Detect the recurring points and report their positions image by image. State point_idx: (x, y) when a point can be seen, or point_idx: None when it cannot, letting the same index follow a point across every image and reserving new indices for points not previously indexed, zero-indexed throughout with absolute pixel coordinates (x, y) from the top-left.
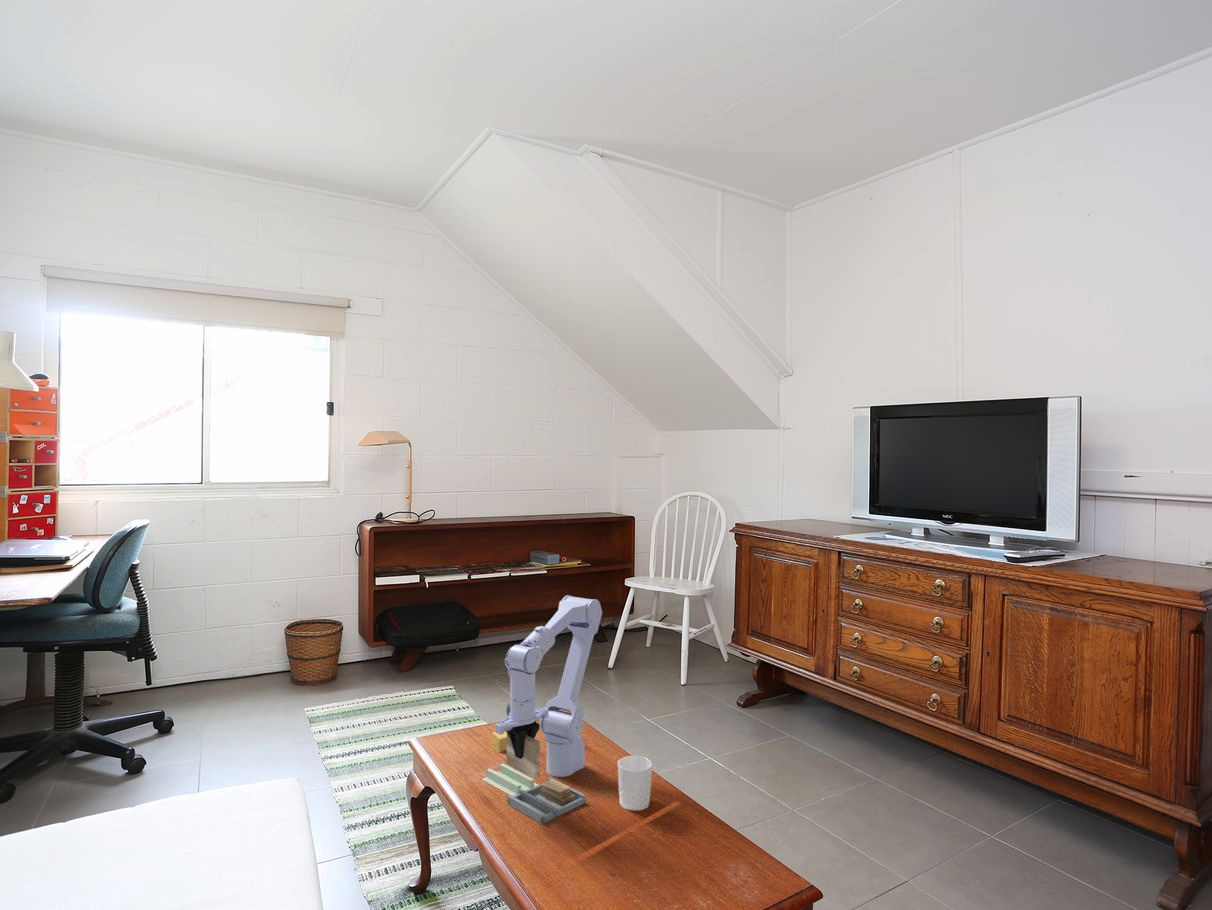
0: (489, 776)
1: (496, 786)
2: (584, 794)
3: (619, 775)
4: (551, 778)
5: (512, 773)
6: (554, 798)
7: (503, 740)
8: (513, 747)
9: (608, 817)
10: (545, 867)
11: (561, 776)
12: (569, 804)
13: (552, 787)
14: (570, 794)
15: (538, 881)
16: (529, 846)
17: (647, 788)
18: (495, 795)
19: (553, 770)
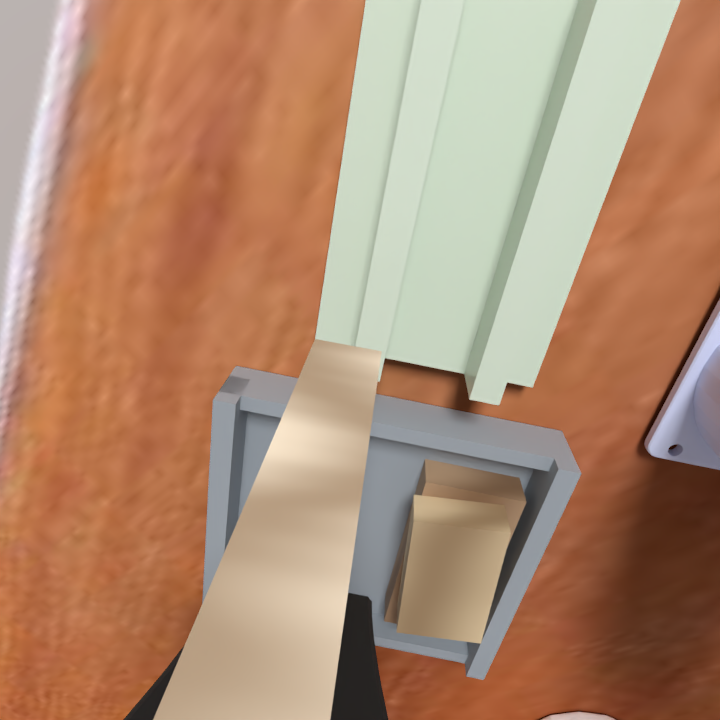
0: None
1: (350, 157)
2: (484, 676)
3: None
4: (568, 486)
5: (534, 178)
6: (397, 567)
7: None
8: (174, 664)
9: (446, 709)
10: (64, 676)
11: (707, 441)
12: (382, 643)
13: (419, 583)
14: None
15: (7, 687)
16: (97, 597)
17: None
18: (291, 207)
19: (717, 417)
